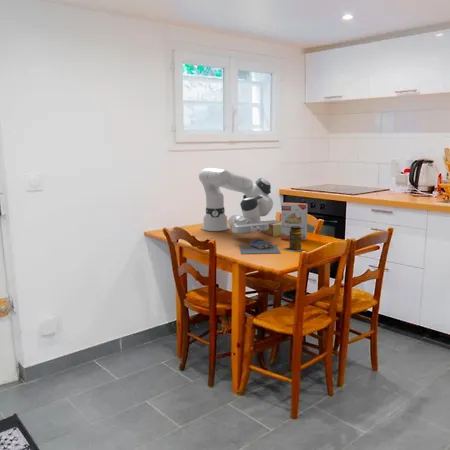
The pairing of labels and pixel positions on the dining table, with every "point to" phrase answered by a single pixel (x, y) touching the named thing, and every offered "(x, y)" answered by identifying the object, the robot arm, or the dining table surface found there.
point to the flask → (261, 244)
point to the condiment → (295, 239)
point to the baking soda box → (273, 228)
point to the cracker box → (293, 219)
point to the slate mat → (259, 250)
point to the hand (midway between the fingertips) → (258, 229)
